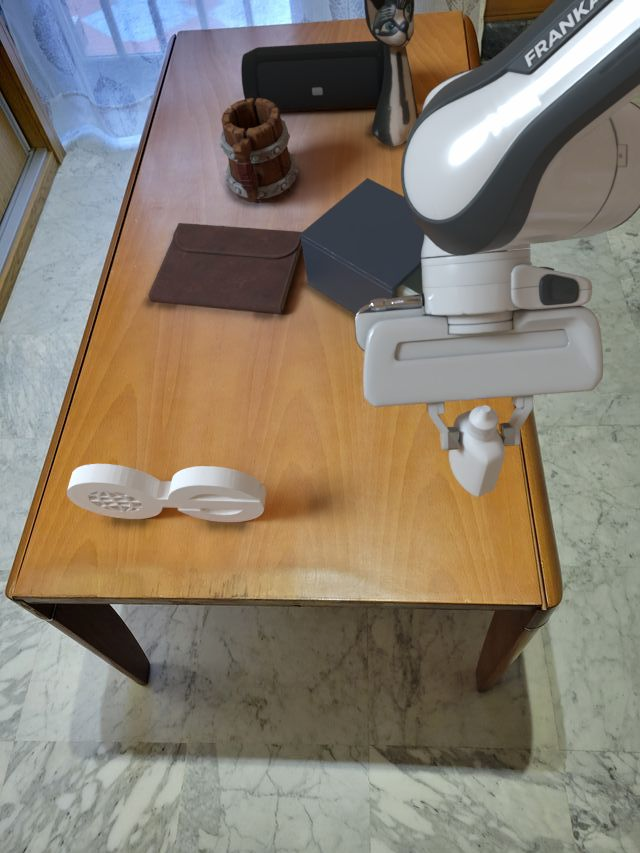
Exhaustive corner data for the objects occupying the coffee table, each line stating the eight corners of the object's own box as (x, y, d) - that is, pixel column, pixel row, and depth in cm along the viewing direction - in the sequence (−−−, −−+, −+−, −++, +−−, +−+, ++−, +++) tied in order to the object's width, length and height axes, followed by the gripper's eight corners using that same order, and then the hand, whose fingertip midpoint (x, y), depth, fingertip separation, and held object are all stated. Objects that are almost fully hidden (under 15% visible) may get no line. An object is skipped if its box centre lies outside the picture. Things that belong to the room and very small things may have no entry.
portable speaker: (248, 125, 112) (237, 69, 103) (255, 91, 117) (245, 35, 108) (394, 119, 109) (394, 61, 100) (395, 85, 114) (395, 26, 105)
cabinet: (453, 278, 89) (460, 225, 81) (392, 337, 85) (392, 288, 77) (369, 231, 96) (367, 177, 87) (307, 284, 91) (299, 233, 83)
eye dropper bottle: (492, 448, 64) (510, 380, 54) (495, 499, 61) (515, 438, 51) (448, 447, 64) (458, 380, 54) (449, 497, 62) (460, 437, 51)
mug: (305, 152, 106) (291, 75, 92) (294, 223, 101) (278, 153, 87) (237, 152, 108) (213, 76, 94) (224, 222, 103) (196, 153, 89)
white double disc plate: (89, 517, 76) (50, 481, 67) (93, 500, 77) (56, 462, 68) (270, 523, 73) (254, 486, 64) (272, 505, 74) (257, 467, 66)
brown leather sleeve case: (282, 316, 89) (279, 306, 87) (151, 303, 92) (146, 293, 91) (304, 239, 96) (303, 229, 94) (182, 230, 100) (179, 220, 98)
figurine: (373, 153, 105) (369, -14, 83) (358, 128, 108) (350, -38, 87) (426, 137, 106) (435, -33, 84) (408, 113, 109) (413, -55, 88)
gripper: (352, 302, 51) (364, 465, 55) (613, 279, 50) (609, 448, 53) (352, 298, 57) (363, 444, 61) (584, 277, 56) (582, 429, 59)
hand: (480, 446), depth 57 cm, fingers closed on eye dropper bottle, 4 cm apart
